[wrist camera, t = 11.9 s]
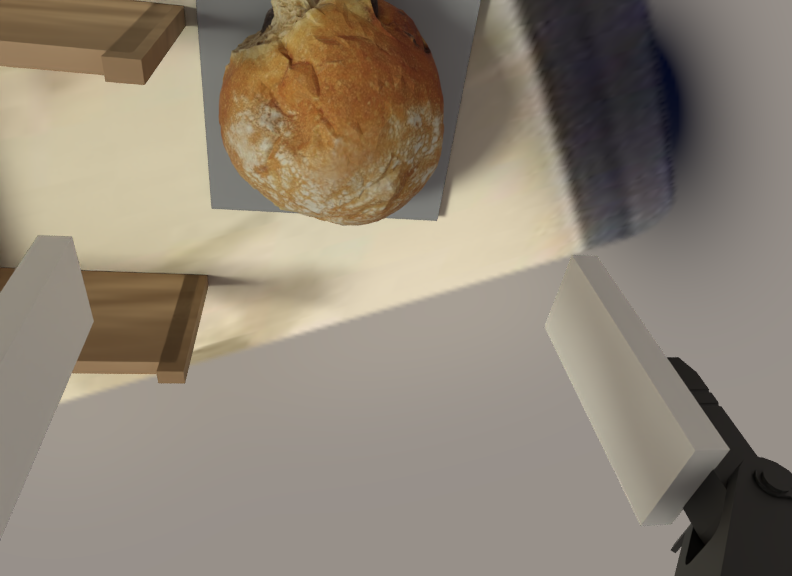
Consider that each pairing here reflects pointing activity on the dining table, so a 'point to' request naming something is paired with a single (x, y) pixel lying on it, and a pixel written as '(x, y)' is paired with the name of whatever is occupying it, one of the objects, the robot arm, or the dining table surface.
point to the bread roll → (334, 109)
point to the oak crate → (122, 63)
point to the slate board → (244, 15)
